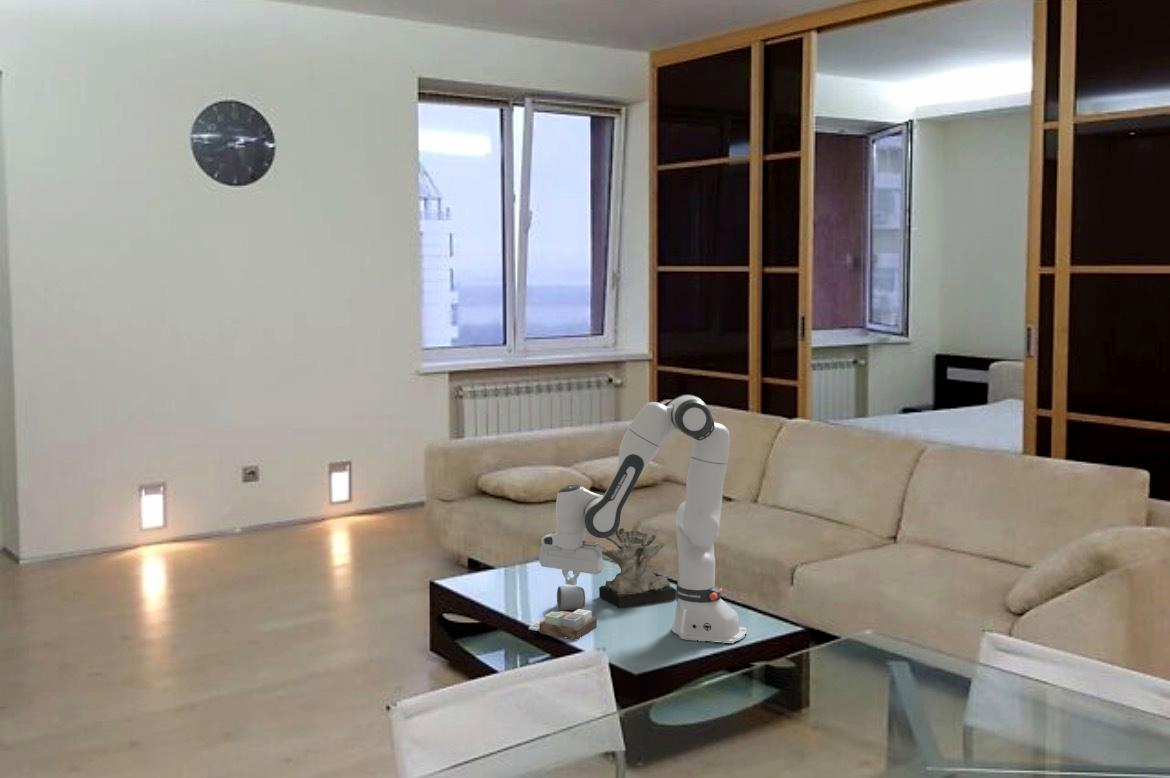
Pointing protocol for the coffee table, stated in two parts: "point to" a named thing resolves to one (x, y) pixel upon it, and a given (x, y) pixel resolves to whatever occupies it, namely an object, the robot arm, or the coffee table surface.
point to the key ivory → (583, 615)
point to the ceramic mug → (570, 598)
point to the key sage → (554, 618)
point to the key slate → (572, 621)
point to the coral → (634, 572)
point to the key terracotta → (566, 613)
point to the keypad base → (568, 629)
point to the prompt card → (536, 625)
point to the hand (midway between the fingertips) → (571, 584)
